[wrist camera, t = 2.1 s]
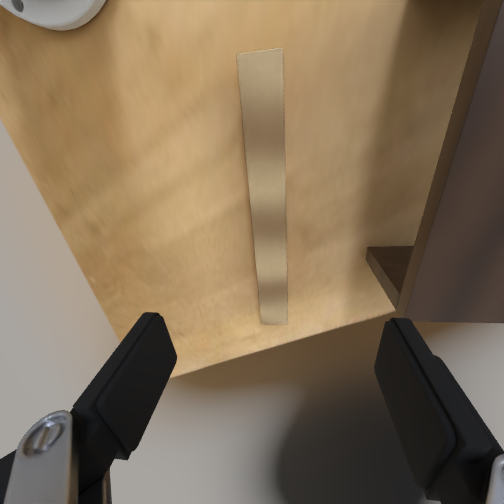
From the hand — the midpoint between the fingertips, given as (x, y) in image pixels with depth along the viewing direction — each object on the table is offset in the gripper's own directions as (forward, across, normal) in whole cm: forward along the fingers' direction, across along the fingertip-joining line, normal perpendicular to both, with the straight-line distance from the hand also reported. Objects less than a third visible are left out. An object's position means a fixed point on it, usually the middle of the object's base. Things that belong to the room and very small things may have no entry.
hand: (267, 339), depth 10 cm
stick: (+16, +1, 0) cm, 16 cm away
